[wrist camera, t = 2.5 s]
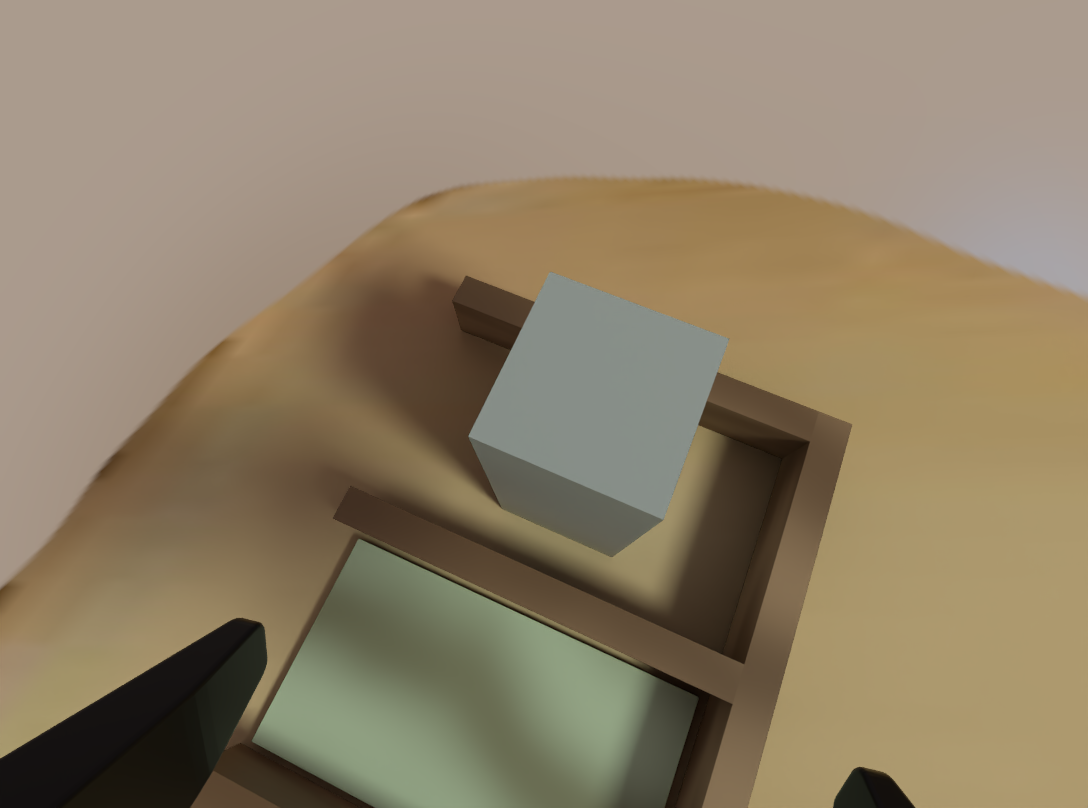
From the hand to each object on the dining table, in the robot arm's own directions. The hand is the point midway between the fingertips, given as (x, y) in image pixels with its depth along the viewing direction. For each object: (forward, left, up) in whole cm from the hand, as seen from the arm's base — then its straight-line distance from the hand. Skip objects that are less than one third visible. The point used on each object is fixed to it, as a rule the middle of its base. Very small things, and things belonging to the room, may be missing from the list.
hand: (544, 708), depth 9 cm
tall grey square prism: (+6, +1, -12) cm, 14 cm away
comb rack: (+2, +1, -12) cm, 13 cm away
